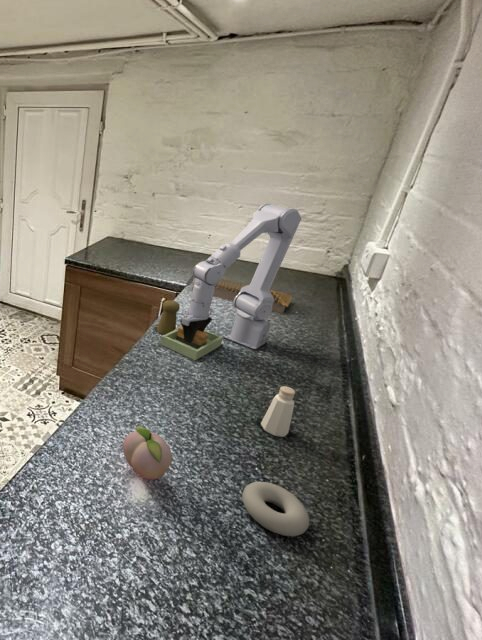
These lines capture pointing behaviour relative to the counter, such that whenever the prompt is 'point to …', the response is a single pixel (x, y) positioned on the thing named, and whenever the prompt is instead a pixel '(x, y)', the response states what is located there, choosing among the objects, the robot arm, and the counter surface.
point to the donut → (276, 522)
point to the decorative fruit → (147, 453)
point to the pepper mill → (168, 317)
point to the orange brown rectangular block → (198, 339)
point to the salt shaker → (279, 413)
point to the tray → (187, 350)
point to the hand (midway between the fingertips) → (191, 339)
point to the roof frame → (237, 286)
